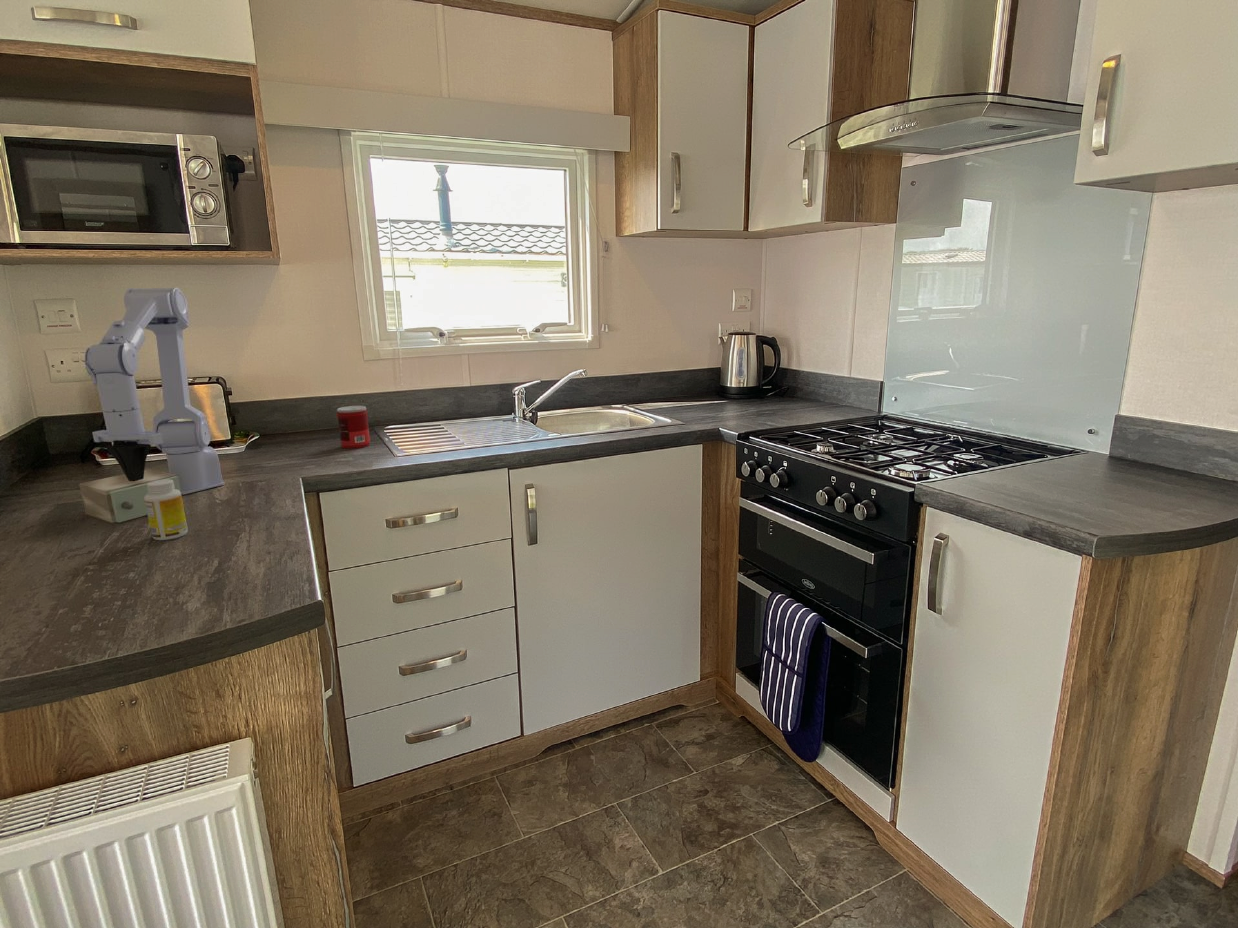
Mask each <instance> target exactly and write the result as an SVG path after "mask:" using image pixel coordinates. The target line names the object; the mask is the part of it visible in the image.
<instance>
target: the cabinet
mask: <svg viewBox="0 0 1238 928" xmlns="http://www.w3.org/2000/svg"><path fill="white" fill-rule="evenodd" d="M174 476H177V475H174V474H170V472H165V471H161V470H156V469H151V468H148V469H144V479H141V480H138V481H134V482H133V481H129V480H128V479H127V477H126V475H125V473H123V474H119V475H118V474H117V475H115V476H114V475H113V476H108V477H104V478H98V479H96V480H95V479H94V480H91V481H90V480H89V481H85V482H81V483H79V488H80V489H79V490H80V494H81V499H82V503H83V506H84V507H83V508H84V512H85V515H88V516H90V517H94V518H95V519H96V518H97V519H99V520H103V521H106V522H109V523H117V522H116V518H115V514H114V509H113V504H112V500H111V495H110V492H112V491H116V490H121V489H125V488H129V487H133V486H137V485H141V484H145V483H149V482H152V481H156V480H162V479H166V478H170V477H174Z"/></svg>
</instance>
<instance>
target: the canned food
mask: <svg viewBox="0 0 1238 928" xmlns="http://www.w3.org/2000/svg"><path fill="white" fill-rule="evenodd" d="M367 411H368V410H367V407H366V406H364V405H350V406H349V405H348V406H342V407H339V408H337V409H336V415H337V422H338V424H337V425H338V432H339V439H340V445H341V447H342V448H343V449H347V450H354V449H355V450H356V449H362V448H366V447H368V446H370V443H371V438H370V430H369V429H370V428H369V420H368V419H369V418H368V412H367Z"/></svg>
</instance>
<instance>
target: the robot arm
mask: <svg viewBox="0 0 1238 928" xmlns="http://www.w3.org/2000/svg"><path fill="white" fill-rule="evenodd" d="M123 302H124V307H125V310H126V311H125V312H124V315H123V317H122V320H113V321H114V322H112V324H110V326H109V328H108V329H107V331H106V333H105V334H104V335H103V337H102V338H101V340H100V342H99V343H98V344H92V345H90V347H88V348H86V349H85V352H84V365H85V368H86V370H87V372H88V374H89V375H90V377H91V380H92V384H93V385H94V387H97V391H98V396H99V400H100V404H101V406H100V407H101V410H102V414H103V418H104V423H105V427H106V430H105V429H101V430H95V431H92V437H93V442H94V443H101V442H104V443H105V442H106V443H107V442H108V443H113V444H112V445H110V446H106V451H107V452H108V453H109V454H110V455H111V456H112V457H113V458H114V459H115V460H116V461H117V463H118V465H119V466H120V468H121V469H122V471H123V474H125V475H126V477H127V479H128V480H129V481H133V482H134V481H138V480H141V479H144V470H146V469H145V467H146V463H147V462H146V461H147V457H148V454H149V452H150V450H151V448H152V447H153V446H155V447H156V448H157V449H159V451H161V452H162V454H166V455H165V456H166V461H167V465H168V466H167V467H168V471H169V472H168V473H170V474H174V475H177V477H178V478H179V483H180V489H181V494H182V496H184V495H187V494H191V493H192V494H193V493H196V492H200V491H205V490H208V489H211V488H216V487H221V486H224V485H225V484H226V483H225V482H224V480H223V476H222V471H221V469H222V468H221V464H220V459H219V455H218V452H217V451H216V450H215V448H213V447H212V446H208V445H209V444H210V442H211V430H210V427H209V426H210V425H209V424H208V420H207V416H206V414H205V413H204V412H203V411H201V410H199V409H197V408H196V407H194V406H192V405H191V399H190V390H189V389H190V388H189V383H188V382H189V381H188V372H187V364H186V363H187V362H186V355H185V346H184V335H183V334H184V333H183V332H184V330H186V329H187V328H189V327H190V316H189V307H188V301H187V298H186V296H185V294H184V292H183V291H182V290H181V289H180V288H179V287H172V288H169V287H166V288H162V287H161V288H159V287H158V288H134V287H129V288H127V290H126V291H125V293H124V296H123ZM145 329H146V330H149V331H151V332H152V333H154V335H155V338H156V339H155V340H156V345H157V346H156V347H157V354H158V363H159V372H160V373H159V374H160V381H161V389H162V398H163V406H164V407H163V408H162V409H161V410H160V411H159V412H157V413H156V414H155V415H154V416H153V420H152V423H153V424H152V425H153V426H152V427H153V428H152V431H150V430H146V429H145V426H144V420H143V415H142V414H143V413H142V411H141V406H140V401H139V400H140V399H139V394H138V390H137V389H138V388H137V385H136V379H135V374H136V373H137V372H138V367H139V363H138V362H139V356H140V354H139V351H140V349H141V348H142V346H143V344H144V342H145V340H146V334H145V333H146V332H144V330H145ZM186 419H187V420H186ZM188 419H189V420H188ZM171 420H179V421H171ZM180 420H181V421H180Z"/></svg>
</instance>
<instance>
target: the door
mask: <svg viewBox="0 0 1238 928" xmlns="http://www.w3.org/2000/svg"><path fill="white" fill-rule="evenodd" d="M166 479H170V480H173V483H174V487H175V488H174V489H177V490H179V491H180V492H181V489H180V483H179V478H178V477H177V476H174V477H170V478H166ZM162 480H164V479H162ZM147 484H148V483H145V484H141V485H137V486H133V487H129V488H125V489H121V490H116V491H112V492H110V495H111V500H112V504H113V509H114V514H115V518H116V522H115V523H122V522H126V521H130V520H133V519H136V518H140V517H144V516H148V515H147V510H146V505H145V501H144V497H145V495H146V494H148V488H147ZM181 497H182V502H183V503H184V499H183V495H182V494H181Z"/></svg>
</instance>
